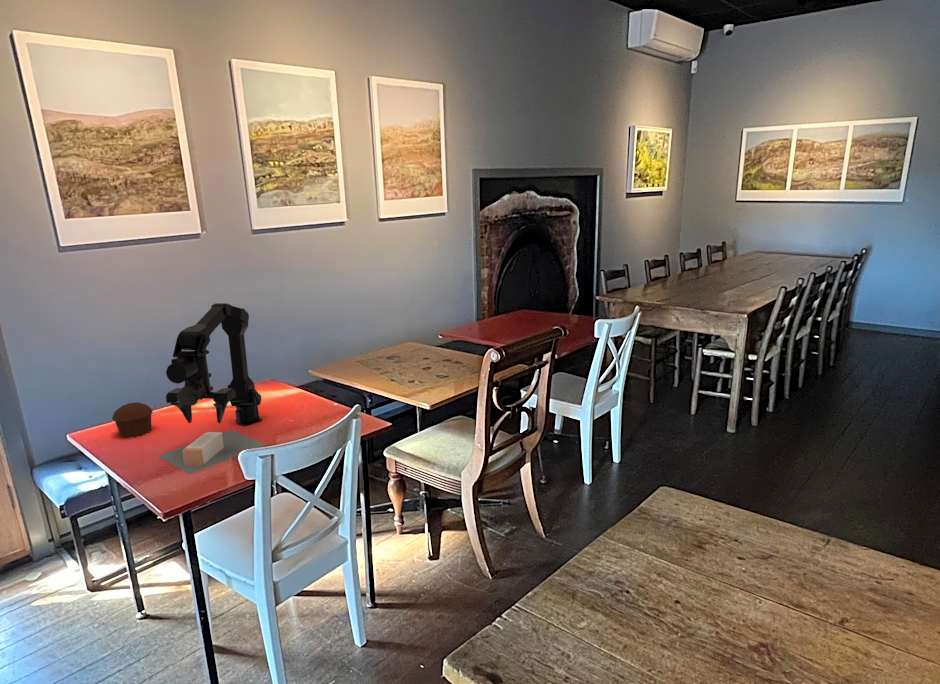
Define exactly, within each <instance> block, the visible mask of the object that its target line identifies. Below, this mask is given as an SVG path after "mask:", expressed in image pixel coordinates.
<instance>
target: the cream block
mask: <svg viewBox="0 0 940 684" xmlns="http://www.w3.org/2000/svg"><path fill="white" fill-rule="evenodd" d="M222 433H223V432H219V431H218V432H215V431H206V432H205V433H203V434H202V435H201V436H199V437H198V438H196V439H195V440H194V441H192V442H191V443H190V444H188V445H189V446H187V445H186V446H187V447H186V448H185V449H183V450H182V453H183V460H184V466H188V467H201V466H203V465H204V464H205V463H206V462H207V461H209V460H210V459H211V458H212V457H213V456H214V455H216V454H217V453H218V452H219V451H220V450H222V449H223V448H224V444H223V437H222Z"/></svg>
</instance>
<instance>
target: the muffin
mask: <svg viewBox="0 0 940 684" xmlns="http://www.w3.org/2000/svg"><path fill="white" fill-rule="evenodd" d="M153 412H154V411H153V409H152V408H151V407H150V406H149V405H148V404H146V403H142V402H140V401H139V402H129V403H126V404H124V405H121V406H119V407H118V408H117V409H116V410H115V411H114V412H113V415H112V417H111V420H112V421H114V422H115V425H116V428H117V431H118V433H119V436H120V437H122V436H123V437H134V438H137V437H136V436H140V437H142V436H141V435H143V434H145V435H147V434H146V433H148V434H149V433H150V432H151V431H152V414H153ZM150 430H151V431H150ZM149 431H150V432H149ZM143 436H144V435H143ZM123 437H122V438H123Z"/></svg>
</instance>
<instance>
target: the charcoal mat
mask: <svg viewBox="0 0 940 684" xmlns="http://www.w3.org/2000/svg"><path fill="white" fill-rule="evenodd" d="M222 437H223V444H224V448H223V449H222V450H220V451H219V452H218V453H217V454H216V455H214V456H213V457H212V458H211V459H210V460H209V461H207V462H206V463H205V464H204V465H203V466H201V467H188V466H184V460H183V453H182V450H183V449H185V448H186V447H187V446H189V445H190V444H188V445H185V446H181V447H178V448H176V449H172V450H171V451H167V452H164V453H161V454H159V455H157V457H158V458H160V459H162V460H164V461H166V462H168V463H169V464H171V465H173V466H174V467H176V468H178V469H180V470H181V471H183V472H184V473H186V474H188V475H191V474H194V473H197V472H199V471H201V470H204V469H207V468H210V467H212V466H214V465H217V464H220V463H223V462H225V461H228V460H230V459H233V458H236V457H238V454H239V452H241V451H243V450H246V449H251V448H257V449H260V448H262V447H264V446H266V443H262V442H260V441H258V440H256V439H254V438H251V437H249V436H247V435H245V434H243V433H240V432H238V431H235V430H234V429H232V430H228V431H226V432H222ZM259 447H260V448H259Z"/></svg>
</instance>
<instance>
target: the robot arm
mask: <svg viewBox="0 0 940 684" xmlns="http://www.w3.org/2000/svg"><path fill="white" fill-rule="evenodd" d="M249 319H250V315H249V312H248V311H247V310H246V309H245V308H242V307H241V308H240V307H238V306H234V305H232V304H230V303H227V302H225V303H223V302H222V303H216V302H215V303H213V304H212V305H211V308H210V309H209V310H208V311H207V312H206V313H205V314H204V315H203V316H202V317H201V318H200V319H199V321H198V322H196V323H195V324H194V325H191V326H187V327H186V328H184V329H183V330H181V331H180V332H179V333H178V335H177V337H176V342H175V346H174V349H173V353H172V359H171V361H170V364H169V365H168V366H167V368H166V371H165V374H166V377H167V379H168V380H169V381H170V382H171V383H173V384H181V383H183V382H184V386H183V387H176V388H174V389H171V390H170V391H169V392H167V393H166V394H165V402H166V403H167V404H171V406H174V407H176V408H178V409H179V410H180V412H181V413H182V414H183V417H184V418H185V420H186V422H187V423H188V424H191V423H192V422H193V410H192V406H195V405H197V403H198V401H200V400H201V401H203V399H205V400H206V399H209V400H210V399H211V400H213V401H214V403H212V405H213V406H214V407H215V410H216V419H217V423H218V424H221V423H222V421H223V418H224V414H225V411H226V408H227V406H228V405H229V403H230V405H231V407H235V408H236V409H235V419H236V420H235V422H236V423H237V424H240V425H242V426H245V427H247V426H249V425H251V424H252V425H253V424H254V423H257V422H261V421H263V418H262V417H260V415H259V407H258V406H260V405H261V403H262V395H261V394H260V393H259V392H258V391H257V390H256V386H255V383H254V381H253V379H252V378H251V377H250V376H249V371H248V361H247V360H248V359H247V352H246V351H247V349H246V341H245V339H246V338H245V333H246V331H247V330H248V328H249ZM220 325H221V329H222V330H223V331H224V333H225V334H226V335H227V336H228V345H229V357H230V365H231V373H232V374H231V375H232V380H231V381H230V383H229V384H227V387H225V388H224V387H223V388H220V389H219V390H217V391H214V386H212V385H211V380H210V378H211V377H212V373H211V372H209V367H208V360H207V359H208V358H207V355H208V354H210V351H209V350H208V349H207V347H208V346H209V344H210V342H211V335H212V334H213V332H214V331H216V329H217V327H219V326H220Z"/></svg>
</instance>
